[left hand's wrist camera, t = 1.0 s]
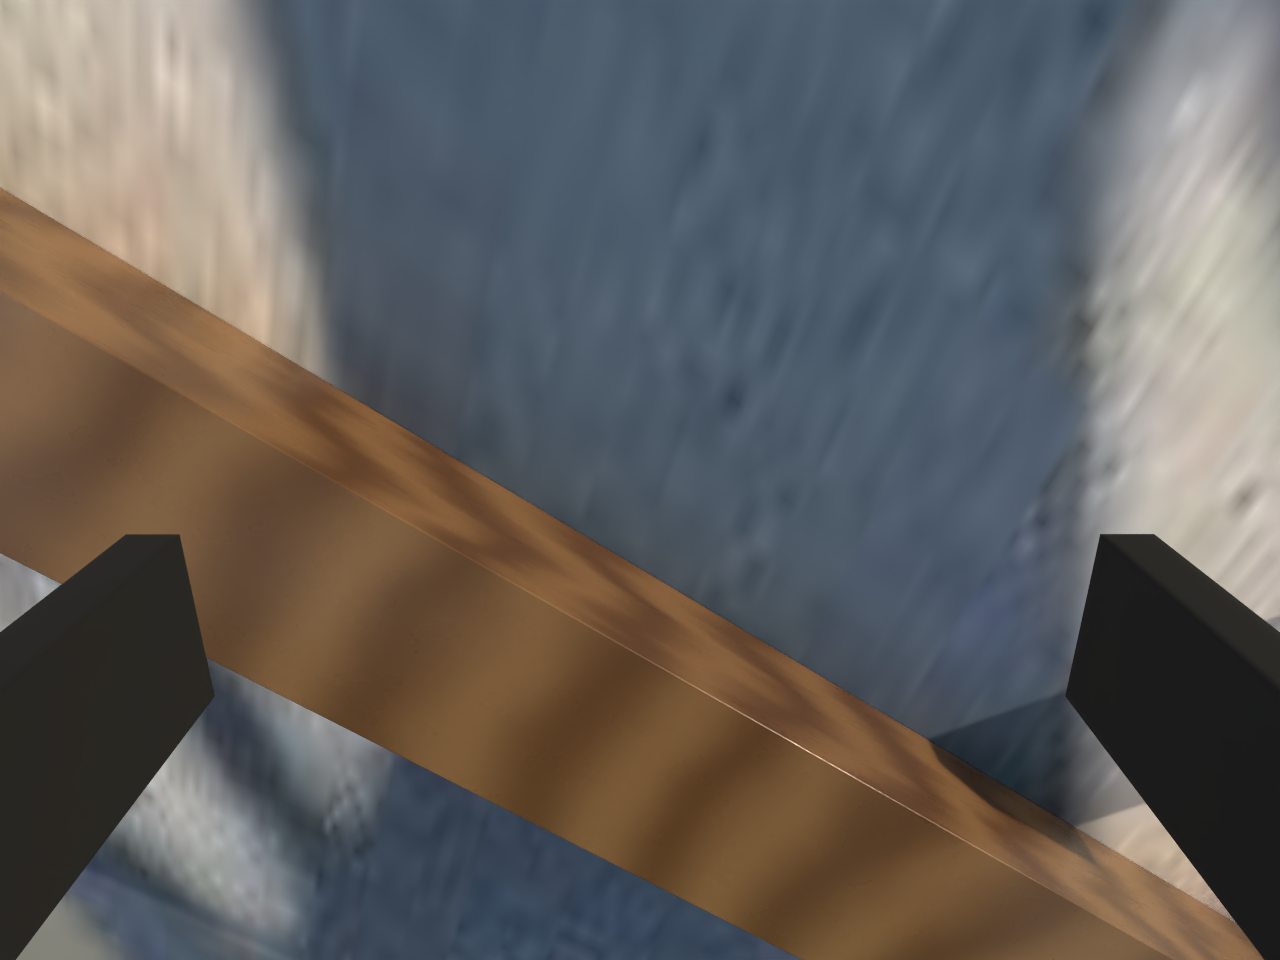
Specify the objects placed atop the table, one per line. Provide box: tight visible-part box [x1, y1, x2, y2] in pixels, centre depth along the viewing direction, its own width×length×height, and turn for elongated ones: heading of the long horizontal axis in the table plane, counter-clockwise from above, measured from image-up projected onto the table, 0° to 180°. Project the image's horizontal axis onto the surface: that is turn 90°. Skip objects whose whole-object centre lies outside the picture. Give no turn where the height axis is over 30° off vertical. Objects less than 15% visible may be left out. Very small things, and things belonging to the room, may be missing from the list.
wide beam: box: [0, 188, 1264, 960], centre depth 38 cm, size 84×9×7 cm, turn 56°
